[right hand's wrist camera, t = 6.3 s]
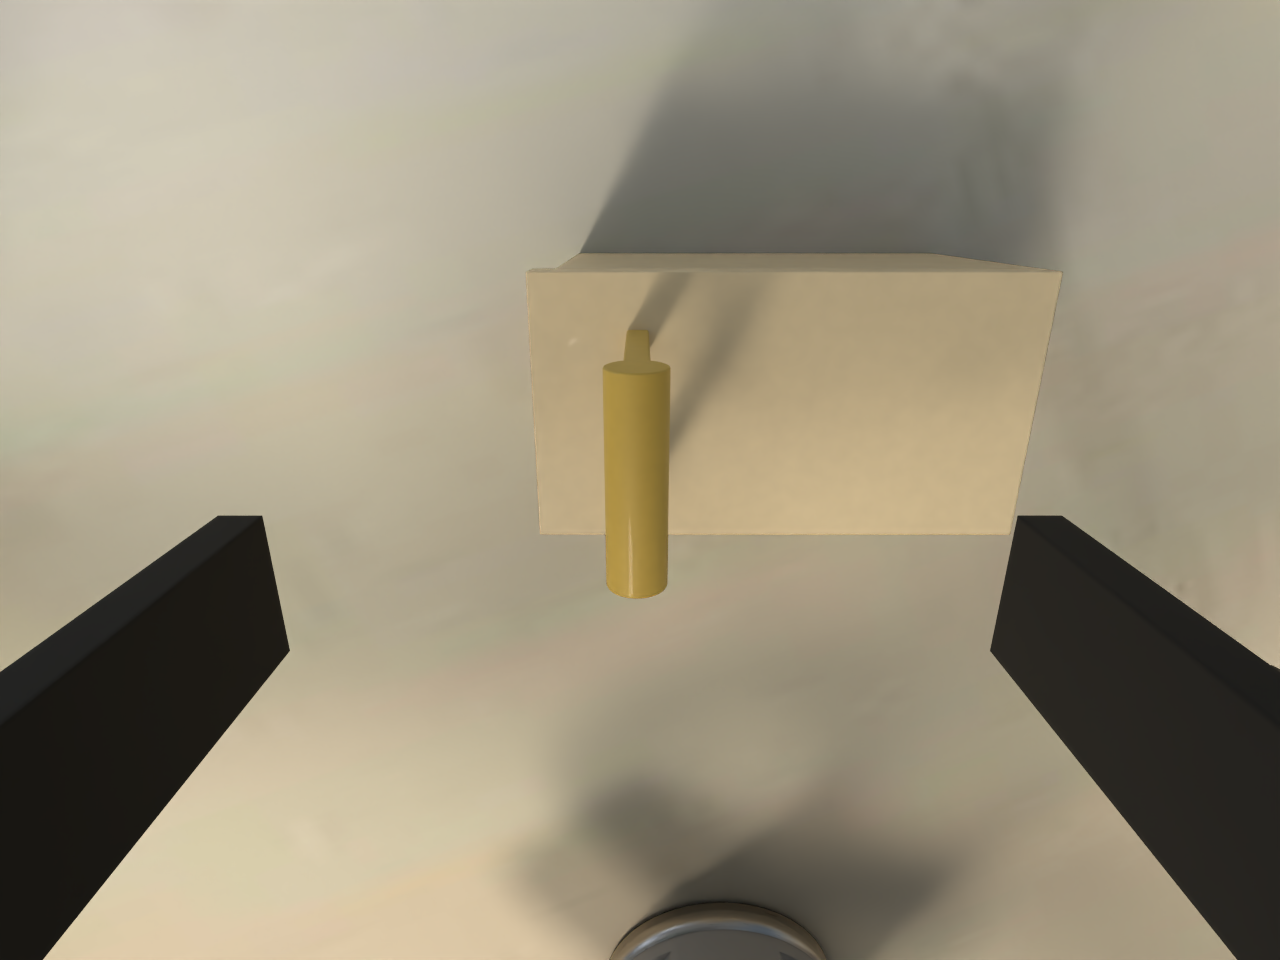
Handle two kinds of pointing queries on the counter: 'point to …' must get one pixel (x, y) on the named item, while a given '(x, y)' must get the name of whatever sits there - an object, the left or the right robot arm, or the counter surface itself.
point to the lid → (781, 403)
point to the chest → (778, 261)
